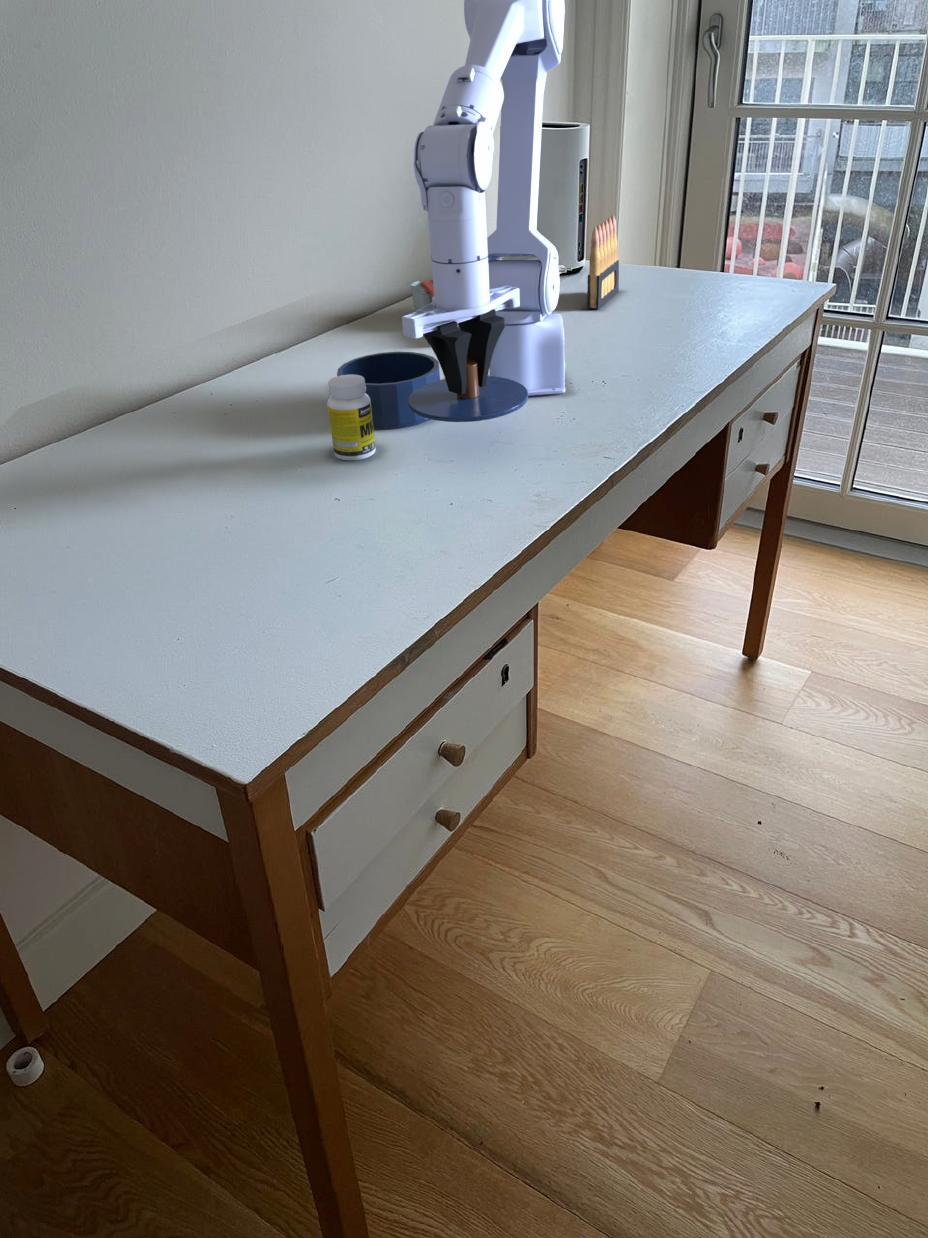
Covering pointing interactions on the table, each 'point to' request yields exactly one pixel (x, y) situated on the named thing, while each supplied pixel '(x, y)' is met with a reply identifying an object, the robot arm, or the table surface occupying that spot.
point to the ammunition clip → (603, 265)
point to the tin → (393, 384)
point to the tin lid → (468, 398)
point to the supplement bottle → (350, 418)
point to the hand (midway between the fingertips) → (467, 388)
